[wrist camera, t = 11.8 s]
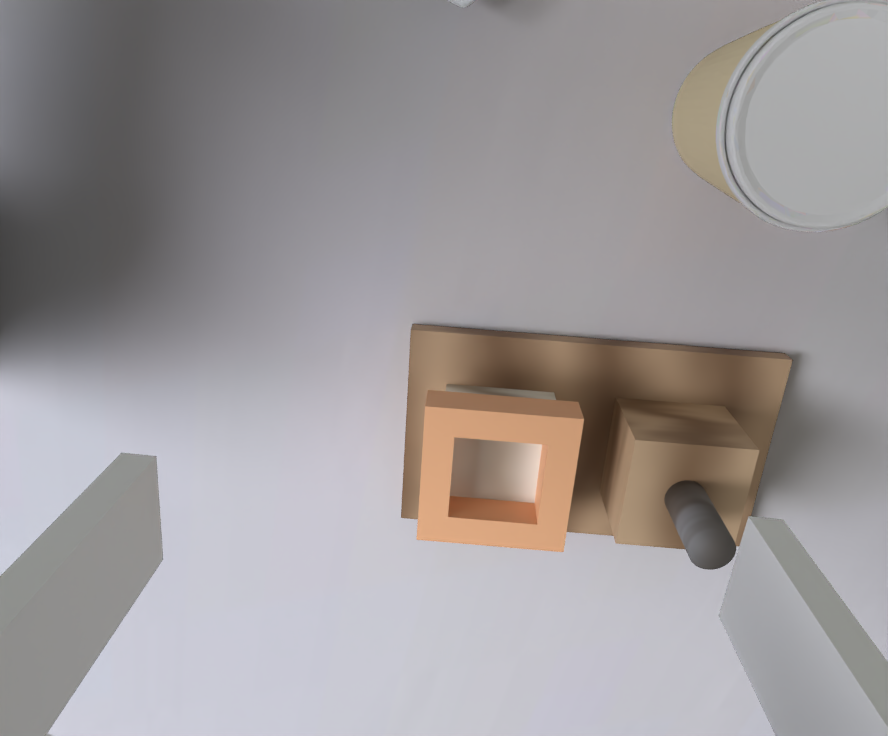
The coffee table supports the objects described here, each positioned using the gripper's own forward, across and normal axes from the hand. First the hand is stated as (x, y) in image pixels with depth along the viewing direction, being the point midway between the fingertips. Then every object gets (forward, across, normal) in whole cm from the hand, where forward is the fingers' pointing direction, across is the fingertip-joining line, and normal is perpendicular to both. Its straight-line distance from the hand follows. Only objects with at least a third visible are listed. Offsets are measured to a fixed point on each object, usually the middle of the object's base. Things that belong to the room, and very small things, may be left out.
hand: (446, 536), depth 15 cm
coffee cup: (+30, +15, +10) cm, 35 cm away
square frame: (+25, +3, -12) cm, 28 cm away
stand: (+30, +9, -12) cm, 33 cm away
